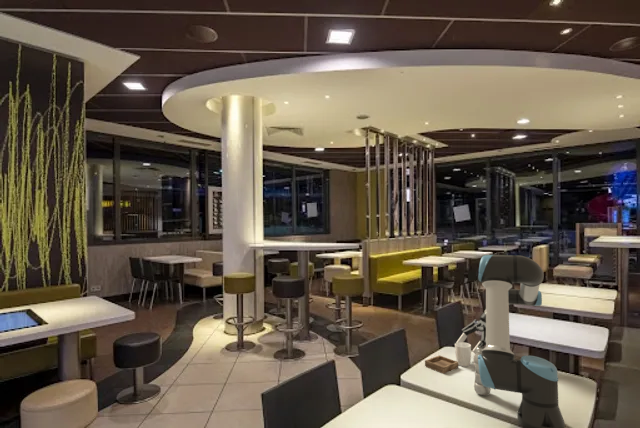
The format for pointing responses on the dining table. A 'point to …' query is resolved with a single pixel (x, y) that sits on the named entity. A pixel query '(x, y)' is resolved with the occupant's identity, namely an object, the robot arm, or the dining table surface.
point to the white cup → (463, 353)
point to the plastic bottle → (478, 385)
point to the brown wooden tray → (441, 364)
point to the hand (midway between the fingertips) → (465, 348)
